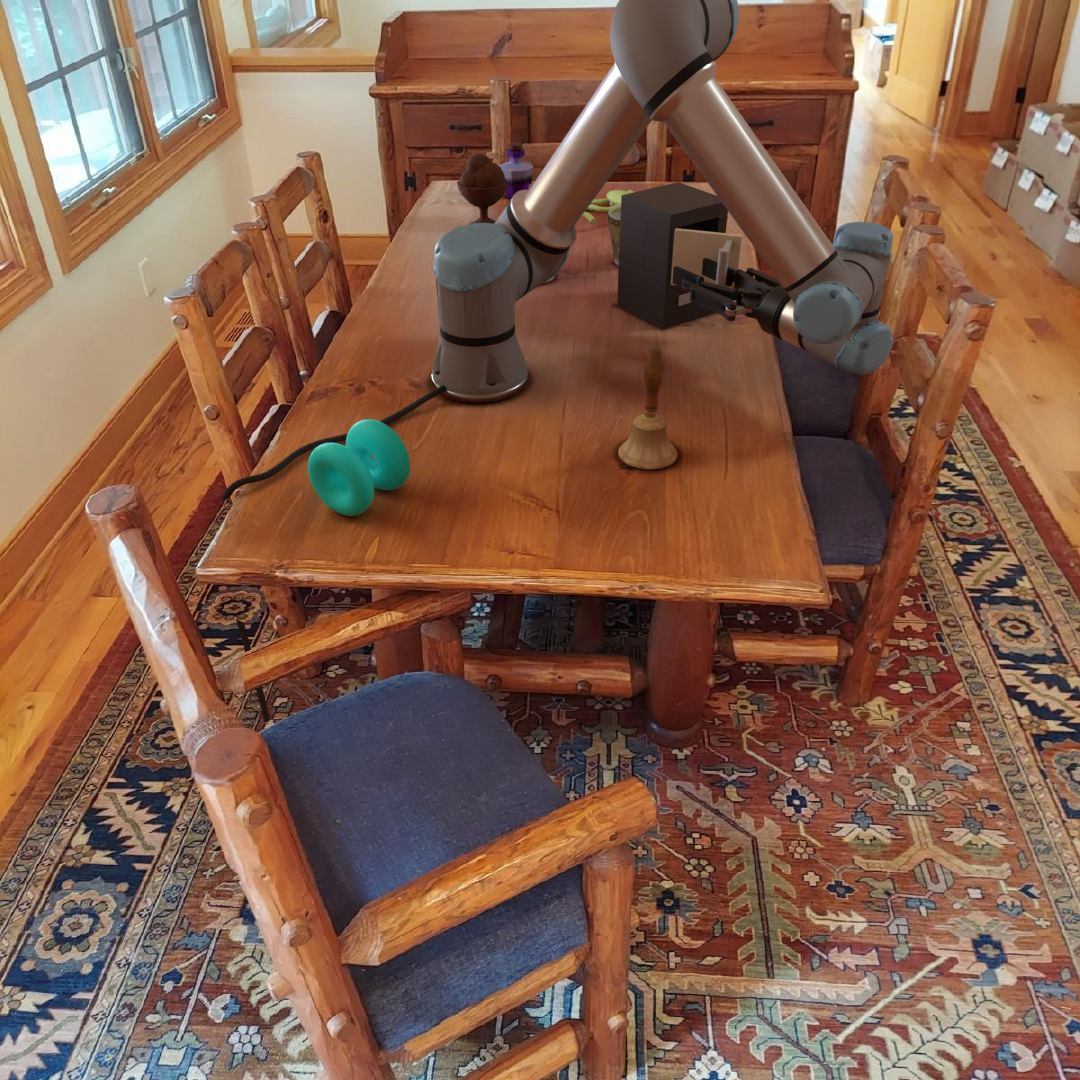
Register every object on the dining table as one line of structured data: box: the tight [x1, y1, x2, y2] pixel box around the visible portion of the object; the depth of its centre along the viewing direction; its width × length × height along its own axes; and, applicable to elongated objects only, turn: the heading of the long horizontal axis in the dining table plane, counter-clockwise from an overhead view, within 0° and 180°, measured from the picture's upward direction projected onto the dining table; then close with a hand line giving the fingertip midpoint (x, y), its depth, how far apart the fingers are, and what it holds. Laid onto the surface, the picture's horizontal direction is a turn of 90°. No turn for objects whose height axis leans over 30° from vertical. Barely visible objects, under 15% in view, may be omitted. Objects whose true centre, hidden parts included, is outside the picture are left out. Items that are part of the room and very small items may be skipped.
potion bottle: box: [497, 142, 534, 200], centre depth 227 cm, size 9×9×12 cm
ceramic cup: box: [607, 206, 621, 267], centre depth 192 cm, size 13×10×10 cm
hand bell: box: [617, 346, 679, 470], centre depth 130 cm, size 8×8×16 cm
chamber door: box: [671, 228, 743, 289], centre depth 156 cm, size 7×11×9 cm, turn 71°
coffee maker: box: [616, 181, 729, 330], centre depth 169 cm, size 14×13×20 cm
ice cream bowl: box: [456, 152, 508, 224], centre depth 209 cm, size 11×11×15 cm
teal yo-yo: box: [307, 418, 411, 517], centre depth 123 cm, size 10×10×10 cm
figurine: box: [580, 189, 635, 225], centre depth 214 cm, size 18×27×6 cm
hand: (689, 270), depth 156 cm, fingers open, 6 cm apart
